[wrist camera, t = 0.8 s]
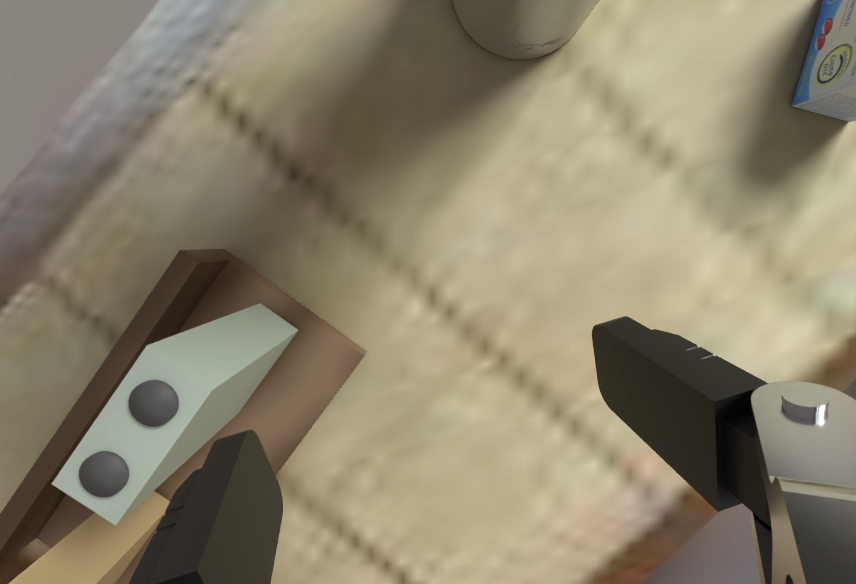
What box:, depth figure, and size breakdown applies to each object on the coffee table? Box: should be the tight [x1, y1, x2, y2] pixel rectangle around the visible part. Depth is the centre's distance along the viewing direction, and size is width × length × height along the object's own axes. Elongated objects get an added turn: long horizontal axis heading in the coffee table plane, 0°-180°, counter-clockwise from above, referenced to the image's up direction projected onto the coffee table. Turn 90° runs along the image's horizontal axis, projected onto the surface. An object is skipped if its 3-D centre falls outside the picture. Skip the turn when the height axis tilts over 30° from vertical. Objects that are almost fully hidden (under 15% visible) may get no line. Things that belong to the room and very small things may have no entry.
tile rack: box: [0, 249, 367, 584], centre depth 29 cm, size 12×24×6 cm, turn 143°
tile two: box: [52, 303, 298, 526], centre depth 23 cm, size 3×7×12 cm, turn 143°
